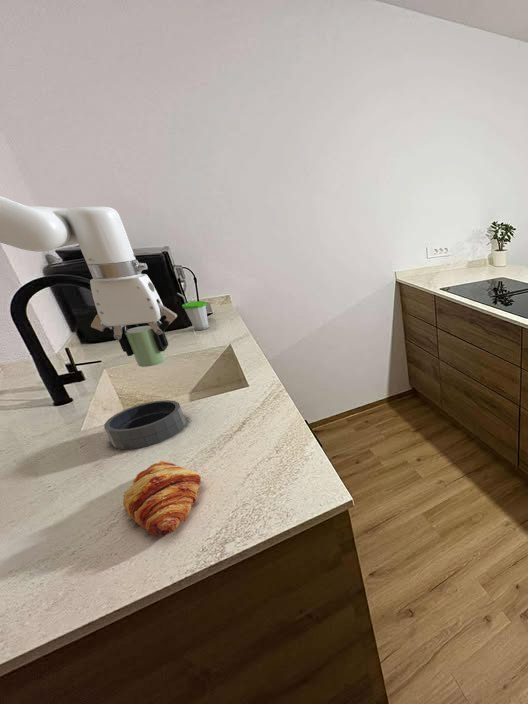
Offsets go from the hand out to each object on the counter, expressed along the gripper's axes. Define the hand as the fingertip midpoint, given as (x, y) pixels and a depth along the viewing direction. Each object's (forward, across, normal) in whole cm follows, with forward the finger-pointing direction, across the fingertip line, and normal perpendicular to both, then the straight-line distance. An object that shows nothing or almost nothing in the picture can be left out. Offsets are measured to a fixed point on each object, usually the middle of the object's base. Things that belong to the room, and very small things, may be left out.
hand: (147, 350), depth 85 cm
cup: (+16, +6, -74) cm, 76 cm away
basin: (+16, +2, +9) cm, 19 cm away
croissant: (+16, -7, +36) cm, 40 cm away
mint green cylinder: (+3, 0, 0) cm, 3 cm away
